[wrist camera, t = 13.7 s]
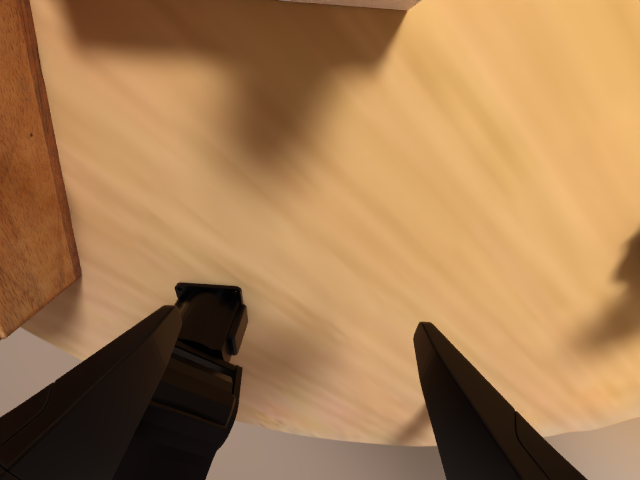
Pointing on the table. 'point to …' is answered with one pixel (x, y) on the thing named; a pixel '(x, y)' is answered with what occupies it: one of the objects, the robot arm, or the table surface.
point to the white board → (367, 3)
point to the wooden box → (29, 181)
